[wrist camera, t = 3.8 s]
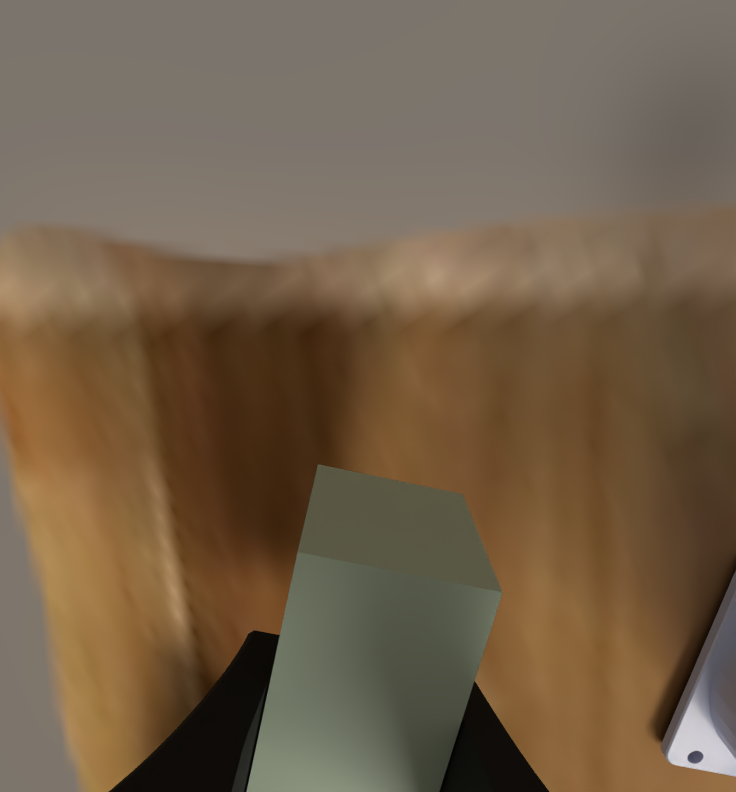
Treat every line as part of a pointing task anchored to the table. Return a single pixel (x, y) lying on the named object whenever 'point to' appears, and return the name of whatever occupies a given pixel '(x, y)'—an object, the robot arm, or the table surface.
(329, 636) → the rectangular block
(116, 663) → the table surface
